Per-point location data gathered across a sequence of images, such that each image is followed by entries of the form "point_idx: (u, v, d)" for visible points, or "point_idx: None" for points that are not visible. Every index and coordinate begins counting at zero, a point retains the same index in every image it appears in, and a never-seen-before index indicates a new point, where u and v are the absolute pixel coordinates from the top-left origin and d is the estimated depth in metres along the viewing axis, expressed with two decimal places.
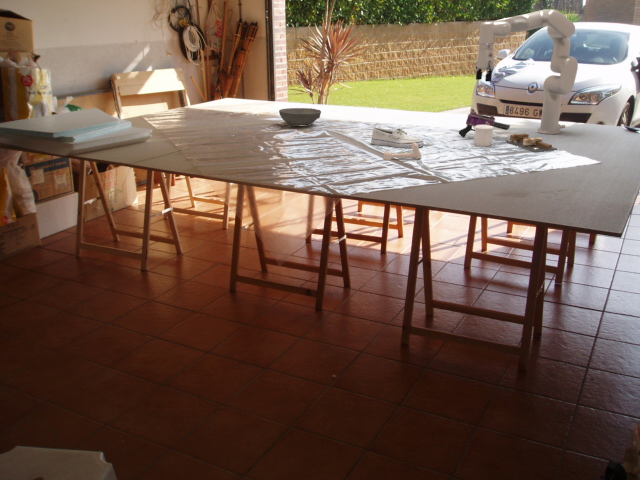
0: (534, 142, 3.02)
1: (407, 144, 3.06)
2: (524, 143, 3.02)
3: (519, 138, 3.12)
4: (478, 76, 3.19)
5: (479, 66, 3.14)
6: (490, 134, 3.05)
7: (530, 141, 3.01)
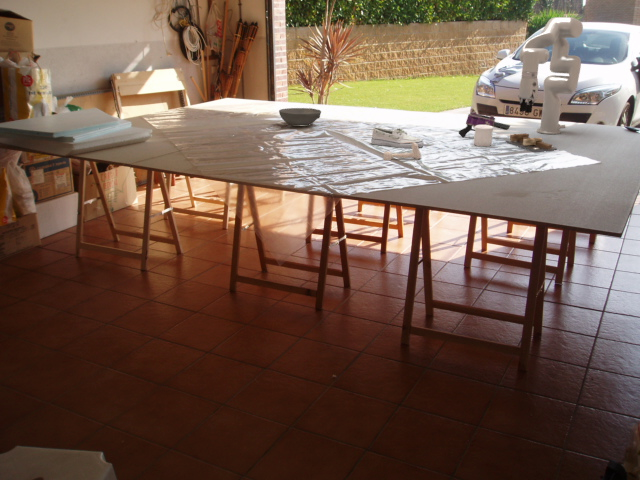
0: (534, 142, 3.02)
1: (406, 144, 3.06)
2: (524, 143, 3.02)
3: (519, 138, 3.12)
4: (522, 108, 3.04)
5: (521, 95, 3.01)
6: (490, 134, 3.05)
7: (530, 141, 3.01)
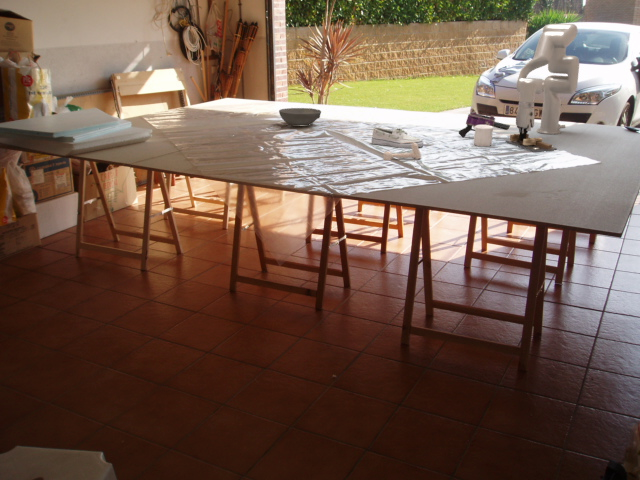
0: (534, 142, 3.02)
1: (406, 144, 3.06)
2: (524, 143, 3.02)
3: None
4: None
5: (518, 124, 3.06)
6: (490, 134, 3.05)
7: (530, 141, 3.01)
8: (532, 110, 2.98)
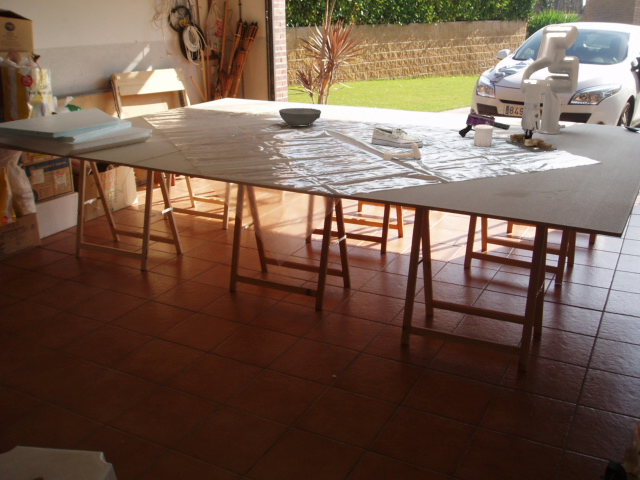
0: (536, 143, 3.00)
1: (406, 144, 3.06)
2: (526, 144, 3.00)
3: (519, 138, 3.12)
4: None
5: (524, 126, 3.02)
6: (490, 134, 3.05)
7: (532, 142, 3.00)
8: (538, 112, 2.94)
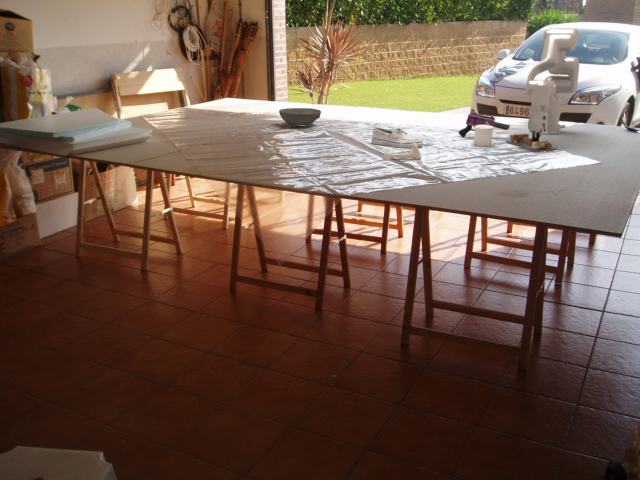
0: (543, 145, 2.95)
1: (405, 144, 3.06)
2: (533, 146, 2.95)
3: (519, 138, 3.12)
4: (534, 141, 2.98)
5: (531, 128, 2.96)
6: (490, 134, 3.05)
7: (539, 144, 2.94)
8: (545, 114, 2.89)
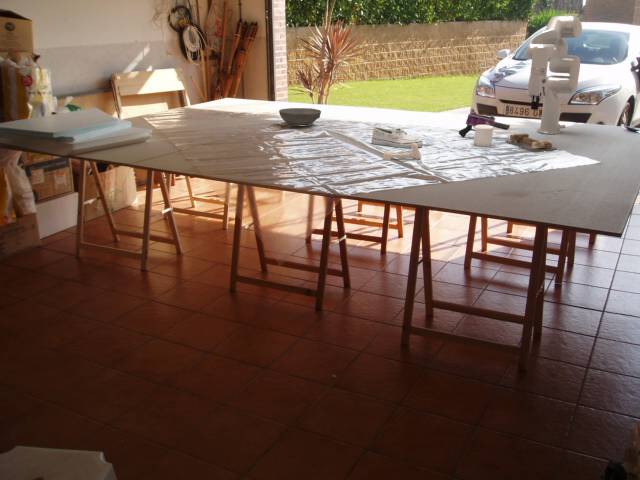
0: (543, 145, 2.95)
1: (405, 144, 3.06)
2: (533, 146, 2.95)
3: (519, 138, 3.12)
4: None
5: (530, 92, 2.94)
6: (490, 134, 3.05)
7: (539, 144, 2.94)
8: (545, 77, 2.87)
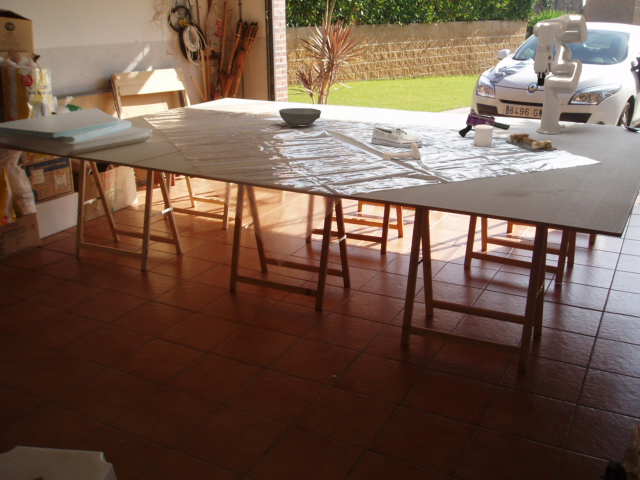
0: (543, 145, 2.95)
1: (405, 144, 3.06)
2: (533, 146, 2.95)
3: (519, 138, 3.12)
4: None
5: (536, 69, 3.04)
6: (490, 134, 3.05)
7: (539, 144, 2.94)
8: (551, 54, 2.96)
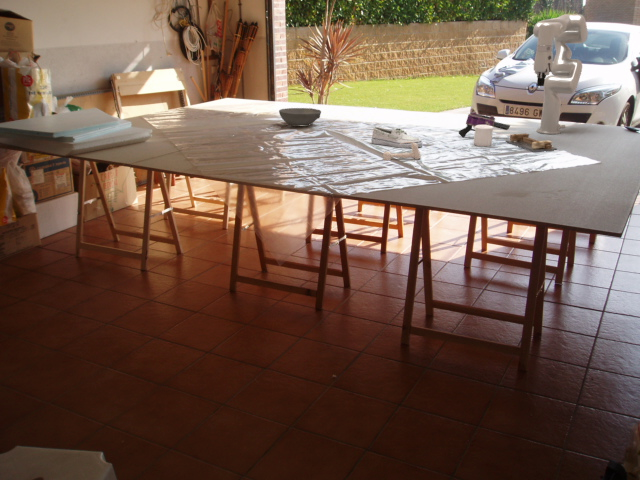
0: (543, 145, 2.95)
1: (404, 144, 3.06)
2: (533, 146, 2.95)
3: (519, 138, 3.12)
4: None
5: (536, 69, 3.04)
6: (490, 134, 3.05)
7: (539, 144, 2.94)
8: (551, 53, 2.96)
